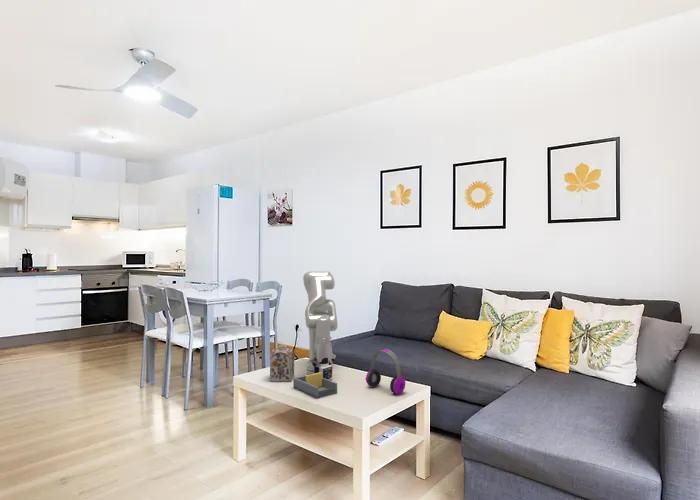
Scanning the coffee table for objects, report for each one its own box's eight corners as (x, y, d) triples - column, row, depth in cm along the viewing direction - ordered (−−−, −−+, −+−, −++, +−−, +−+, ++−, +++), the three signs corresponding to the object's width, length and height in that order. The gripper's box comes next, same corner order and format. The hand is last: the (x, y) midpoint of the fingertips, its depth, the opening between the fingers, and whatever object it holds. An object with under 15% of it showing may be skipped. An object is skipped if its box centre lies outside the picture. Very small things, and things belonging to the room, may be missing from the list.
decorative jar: (291, 382, 228) (291, 348, 228) (269, 381, 228) (269, 348, 229) (294, 375, 240) (294, 343, 240) (274, 375, 240) (274, 343, 240)
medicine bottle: (323, 381, 227) (323, 359, 227) (313, 378, 232) (313, 356, 232) (332, 378, 233) (332, 356, 233) (323, 375, 238) (323, 354, 237)
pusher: (301, 387, 214) (301, 373, 214) (316, 383, 220) (316, 370, 220) (307, 389, 210) (307, 375, 210) (322, 386, 216) (322, 372, 216)
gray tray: (293, 387, 218) (293, 378, 218) (313, 383, 225) (313, 373, 225) (316, 398, 201) (316, 387, 201) (337, 393, 209) (337, 383, 209)
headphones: (364, 387, 218) (364, 348, 219) (375, 383, 225) (375, 345, 225) (395, 397, 204) (395, 354, 204) (407, 392, 210) (407, 351, 210)
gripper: (331, 336, 241) (331, 368, 241) (305, 341, 230) (305, 373, 230) (340, 339, 235) (339, 371, 235) (313, 343, 224) (313, 377, 224)
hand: (323, 372), depth 233 cm, fingers closed on medicine bottle, 7 cm apart
